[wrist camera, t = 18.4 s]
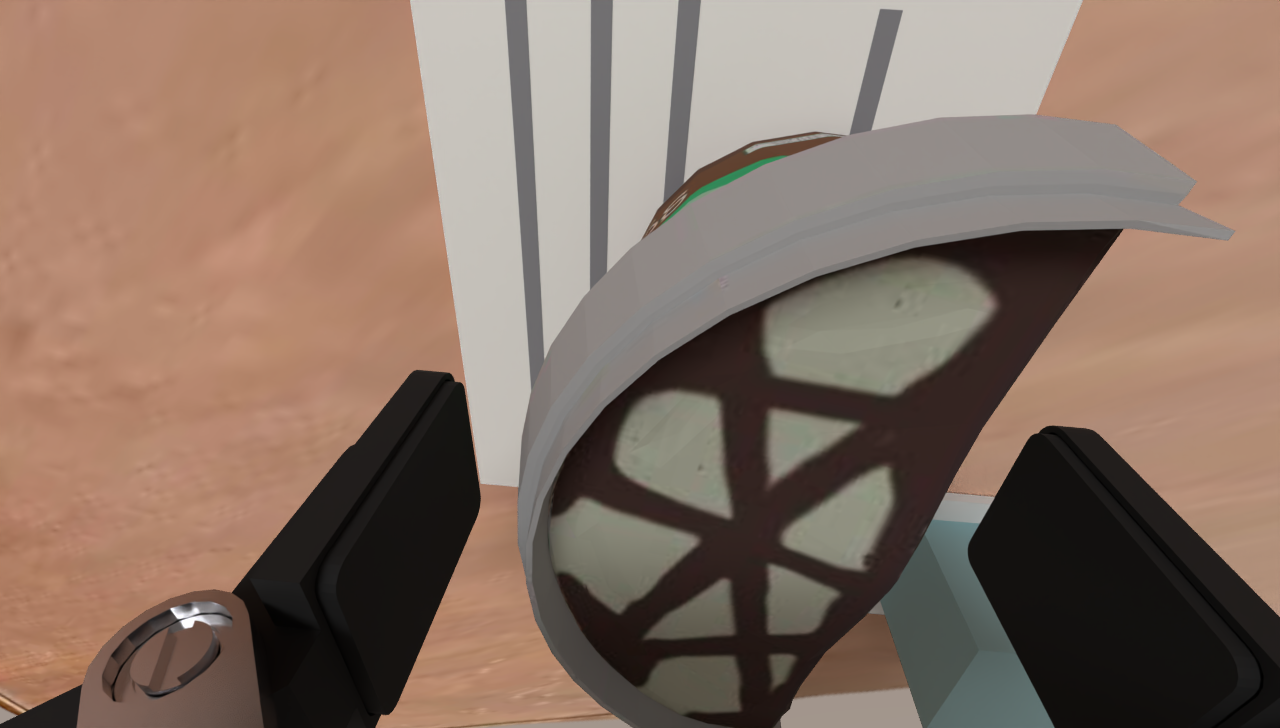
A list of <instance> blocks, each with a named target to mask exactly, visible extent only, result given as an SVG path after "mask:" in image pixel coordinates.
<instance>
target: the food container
mask: <svg viewBox="0 0 1280 728" xmlns="http://www.w3.org/2000/svg"><path fill="white" fill-rule="evenodd" d="M1196 182H1197V181H1195V180H1194V179H1193V178H1191V177H1190V176H1188V175H1187V174H1185V173H1184V172H1183V171H1181V170H1180V169H1178V168H1177V167H1176V166H1174V165H1173V164H1171V163H1170V162H1168V161H1167V160H1166V159H1164V158H1163V157H1161V156H1160V155H1158V154H1157V153H1156V152H1154V151H1153V150H1151V149H1150V148H1148V147H1147V146H1146V145H1144V144H1143V143H1141V142H1140V141H1138V140H1137V139H1136V138H1134V137H1133V136H1131V135H1130V134H1128V133H1127V132H1126V131H1124V130H1123V129H1121V128H1120V127H1118V126H1117V125H1114V124H1106V123H1098V122H1090V121H1082V120H1074V119H1066V118H1058V117H1050V116H1042V115H1034V114H1025V115H997V116H969V117H941V118H935V119H929V120H924V121H919V122H914V123H909V124H903V125H898V126H893V127H888V128H883V129H877V130H872V131H867V132H862V133H857V134H851V135H839V134H831V133H823V132H809V133H803V134H797V135H791V136H785V137H779V138H773V139H767V140H761V141H754V142H751V143H749V144H747V145H745V146H743V147H741V148H739V149H737V150H735V151H733V152H731V153H730V154H728V155H726V156H724V157H722V158H720V159H718V160H716V161H714V162H712V163H710V164H708V165H706V166H704V167H702V168H700V169H698V170H697V171H696V172H695V173H694V174H693V175H692V176H691V177H690V178H689V179H688V180H687V181H686V182H685V183H684V184H683V185H682V186H681V187H680V188H679V189H678V190H677V191H676V192H675V193H674V194H673V195H672V196H670V197H669V198H668V199H667V200H666V201H665V202H664V203H663V204H662V205H661V206H660V207H659V208H658V209H657V211H656V213H655V215H654V217H653V219H652V221H651V222H650V224H649V226H648V228H647V230H646V232H645V234H644V235H643V237H642V239H641V241H640V242H638V243H637V244H636V245H634V246H633V247H632V248H630V249H629V250H628V251H627V252H626V253H625V254H624V256H623V257H622V258H621V259H620V260H619V261H618V262H617V263H616V264H615V265H614V266H613V267H612V268H611V269H610V270H609V271H608V272H607V273H606V274H605V275H604V276H603V277H602V278H601V279H600V280H599V281H598V282H597V283H596V284H595V285H594V286H593V287H592V289H591V290H590V291H589V292H588V293H587V294H586V295H585V296H584V297H583V298H582V300H581V301H580V303H579V304H578V306H577V307H576V309H575V310H574V312H573V313H572V315H571V316H570V318H569V319H568V321H567V322H566V324H565V325H564V327H563V328H562V330H561V331H560V332H559V334H558V335H557V337H556V338H555V340H554V341H553V343H552V344H551V346H550V349H549V351H548V353H547V356H546V358H545V360H544V363H543V365H542V367H541V370H540V372H539V374H538V377H537V379H536V381H535V384H534V386H533V388H532V391H531V394H530V399H529V404H528V409H527V414H526V419H525V423H524V428H523V433H522V440H521V456H520V472H519V488H518V546H519V550H520V554H521V559H522V563H523V567H524V571H525V575H526V584H527V589H528V593H529V597H530V601H531V605H532V609H533V613H534V617H535V620H536V622H537V624H538V626H539V628H540V630H541V632H542V634H543V636H544V638H545V640H546V642H547V644H548V646H549V648H550V650H551V652H552V654H553V655H554V656H555V657H556V659H557V660H558V661H559V663H560V664H561V665H562V666H563V668H564V669H565V670H566V672H567V673H568V674H569V675H570V677H571V678H572V679H573V681H574V682H575V683H577V684H578V685H579V686H580V687H581V688H582V689H583V690H584V691H585V692H586V693H587V694H589V695H590V696H591V697H592V698H593V699H594V700H595V701H596V702H597V703H598V704H600V705H601V706H602V707H603V708H605V709H606V710H608V711H609V712H611V713H612V714H614V715H615V716H616V717H618V718H619V719H621V720H622V721H624V722H625V723H627V724H628V725H630V726H631V727H633V728H781V722H780V719H781V717H782V716H783V715H784V714H785V713H786V712H787V711H788V710H789V709H790V706H791V703H792V700H793V698H794V696H795V695H796V693H797V691H798V689H799V688H800V686H801V684H802V683H803V681H804V680H805V679H806V677H807V676H808V675H809V673H810V672H811V671H812V669H813V668H814V667H815V665H816V664H817V663H818V661H819V660H820V659H821V657H822V656H823V655H824V653H825V652H826V651H827V650H828V649H829V648H831V647H832V646H833V645H834V644H835V643H836V642H837V641H838V640H839V639H840V638H842V637H843V636H844V635H845V634H846V633H847V632H848V631H849V630H850V629H851V628H853V627H854V626H855V625H856V624H857V623H858V622H859V621H860V620H861V619H862V618H864V617H865V616H866V615H867V614H868V613H869V612H870V611H871V610H872V609H873V608H874V606H875V605H876V604H877V603H878V602H879V601H880V600H881V599H882V598H883V597H884V596H885V595H886V594H887V593H888V592H889V591H890V590H891V589H892V587H893V586H894V585H895V584H896V582H897V581H898V579H899V578H900V576H901V574H902V572H903V570H904V569H905V567H906V565H907V564H908V562H909V560H910V559H911V557H912V555H913V554H914V552H915V550H916V549H917V547H918V545H919V544H920V542H921V540H922V538H923V537H924V535H925V533H926V531H927V529H928V527H929V525H930V523H931V521H932V519H933V517H934V515H935V513H936V512H937V510H938V508H939V506H940V504H941V502H942V500H943V498H944V496H945V494H946V492H947V490H948V488H949V486H950V485H951V483H952V481H953V479H954V477H955V475H956V473H957V471H958V470H959V468H960V466H961V464H962V463H963V461H964V459H965V458H966V456H967V454H968V452H969V451H970V449H971V447H972V445H973V444H974V442H975V440H976V438H977V437H978V435H979V433H980V432H981V430H982V428H983V427H984V425H985V424H986V422H987V421H988V420H989V418H990V417H991V415H992V414H993V412H994V411H995V409H996V408H997V407H998V405H999V404H1000V402H1001V401H1002V399H1003V398H1004V397H1005V395H1006V394H1007V392H1008V391H1009V389H1010V388H1011V386H1012V385H1013V384H1014V382H1015V381H1016V379H1017V378H1018V376H1019V375H1020V374H1021V372H1022V371H1023V369H1024V368H1025V366H1026V365H1027V363H1028V362H1029V361H1030V359H1031V358H1032V356H1033V355H1034V353H1035V352H1036V351H1037V349H1038V348H1039V346H1040V345H1041V343H1042V342H1043V340H1044V339H1045V338H1046V336H1047V335H1048V333H1049V332H1050V330H1051V329H1052V328H1053V326H1054V325H1055V323H1056V322H1057V320H1058V319H1059V318H1060V316H1061V315H1062V314H1063V312H1064V311H1065V309H1066V308H1067V307H1068V305H1069V304H1070V302H1071V301H1072V300H1073V298H1074V297H1075V296H1076V294H1077V293H1078V291H1079V290H1080V289H1081V287H1082V286H1083V284H1084V283H1085V282H1086V280H1087V279H1088V278H1089V276H1090V275H1091V273H1092V272H1093V271H1094V269H1095V268H1096V266H1097V265H1098V264H1099V262H1100V261H1101V260H1102V258H1103V257H1104V255H1105V254H1106V253H1107V251H1108V250H1109V248H1110V247H1111V246H1112V244H1113V243H1114V242H1115V240H1116V239H1117V237H1118V236H1119V235H1120V233H1121V232H1122V230H1123V229H1138V230H1146V231H1154V232H1163V233H1171V234H1179V235H1187V236H1195V237H1203V238H1212V239H1220V240H1229V239H1230V237H1231V236H1232V235H1233V233H1234V232H1235V231H1234V230H1232V229H1230V228H1228V227H1225V226H1223V225H1221V224H1219V223H1217V222H1214V221H1212V220H1210V219H1208V218H1205V217H1203V216H1201V215H1199V214H1197V213H1194V212H1192V211H1190V210H1188V209H1186V208H1183V207H1181V206H1179V205H1178V204H1179V203H1180V202H1181V201H1182V200H1183V199H1184V198H1185V197H1186V196H1187V195H1188V193H1189V192H1190V190H1191V189H1192V188H1193V186H1194V185H1195V183H1196Z"/></svg>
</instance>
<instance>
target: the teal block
mask: <svg viewBox="0 0 1280 728" xmlns="http://www.w3.org/2000/svg"><path fill="white" fill-rule="evenodd" d="M979 524H980V523H968V522H955V521H943V520H932V521H931V523H930V525H929V527H928V529H927V531H926V533H925V535H924V537H923V538H922V540H921V542H920V544H919V545H918V547H917V549H916V550H915V552H914V554H913V555H912V557H911V559H910V560H909V562H908V564H907V565H906V567H905V569H904V570H903V572H902V574H901V576H900V578H899V579H898V581H897V582H896V584H895V585H894V586H893V587H892V589H891V590H890V591H889V592H888V593H887V594H886V595H885V596H884V597H883V598H882V599H881V600H880V602H881V605H882V608H883V611H884V614H885V617H886V620H887V623H888V626H889V629H890V632H891V635H892V638H893V641H894V643H895V646H896V649H897V652H898V655H899V658H900V661H901V664H902V667H903V670H904V673H905V676H906V679H907V682H908V685H909V688H910V691H911V694H912V697H913V700H914V703H915V706H916V709H917V712H918V714H919V718H920V721H921V724H922V726H923V728H1055V727H1054V726H1053V724H1052V722H1051V720H1050V718H1049V716H1048V714H1047V712H1046V710H1045V708H1044V706H1043V704H1042V702H1041V700H1040V698H1039V697H1038V695H1037V693H1036V691H1035V689H1034V687H1033V685H1032V683H1031V681H1030V679H1029V677H1028V675H1027V673H1026V671H1025V669H1024V668H1023V666H1022V664H1021V662H1020V660H1019V658H1018V656H1017V654H1016V652H1015V650H1014V648H1013V646H1012V644H1011V642H1010V640H1009V638H1008V637H1007V635H1006V633H1005V631H1004V629H1003V627H1002V625H1001V623H1000V621H999V619H998V617H997V615H996V613H995V611H994V609H993V608H992V606H991V604H990V602H989V600H988V598H987V596H986V594H985V592H984V590H983V588H982V586H981V584H980V582H979V580H978V579H977V577H976V575H975V573H974V571H973V569H972V567H971V565H970V562H969V559H968V544H969V542H970V540H971V538H972V536H973V534H974V533H975V531H976V529H977V528H978V526H979Z"/></svg>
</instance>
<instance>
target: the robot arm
mask: <svg viewBox="0 0 1280 728" xmlns="http://www.w3.org/2000/svg"><path fill="white" fill-rule="evenodd" d="M480 501H481V496H480V488H479V481H478V475H477V468H476V462H475V455H474V448H473V442H472V435H471V428H470V422H469V415H468V408H467V402H466V395H465V389H464V386H463V384H462V383H460V382H455V381H454V378H453V376H452V374H450V373H446V372H434V371H423V370H416V371H413V372H412V373H411V374H410V375H409V376H408V378H407V379H406V380H405V382H404V383H403V384H402V385H401V387H400V388H399V389H398V390H397V392H396V393H395V394H394V395H393V397H392V398H391V399H390V401H389V402H388V403H387V404H386V406H385V407H384V408H383V409H382V411H381V412H380V413H379V414H378V416H377V417H376V418H375V420H374V421H373V422H372V423H371V425H370V426H369V427H368V428H367V430H366V431H365V432H364V433H363V435H362V436H361V437H360V439H359V440H358V441H357V442H356V444H355V445H352V446H350V447H349V448H348V449H347V450H346V451H345V452H344V453H343V454H342V455H341V457H340V458H339V459H338V460H337V462H336V463H335V464H334V465H333V467H332V468H331V469H330V470H329V472H328V473H327V474H326V475H325V477H324V478H323V479H322V480H321V482H320V483H319V484H318V485H317V487H316V488H315V489H314V490H313V492H312V493H311V494H310V495H309V497H308V498H307V499H306V500H305V502H304V503H303V504H302V505H301V507H300V508H299V509H298V510H297V512H296V513H295V514H294V515H293V517H292V518H291V519H290V520H289V522H288V523H287V524H286V525H285V527H284V528H283V529H282V530H281V532H280V533H279V534H278V535H277V537H276V538H275V539H274V540H273V542H272V543H271V544H270V545H269V547H268V548H267V549H266V550H265V552H264V553H263V554H262V555H261V557H260V558H259V559H258V560H257V562H256V563H255V564H254V565H253V567H252V568H251V569H250V570H249V572H248V573H247V574H246V575H245V577H244V578H243V579H242V580H241V582H240V583H239V584H238V585H237V587H236V588H235V589H234V590H233V592H232V593H230V592H225V591H220V590H215V589H214V590H204V591H194V592H190V593H187V594H184V595H180V596H177V597H174V598H171V599H168V600H166V601H164V602H162V603H160V604H158V605H156V606H154V607H152V608H150V609H148V610H146V611H145V612H143V613H142V614H140V615H139V616H138V617H136V618H135V619H133V620H132V621H130V622H129V623H128V624H126V625H125V626H123V627H122V628H121V629H120V630H119V631H118V632H117V633H116V634H115V635H114V636H113V637H112V638H111V639H110V640H109V641H108V642H107V643H106V644H105V645H104V646H103V647H102V648H101V650H100V651H99V652H98V654H97V655H96V657H95V658H94V660H93V661H92V663H91V664H90V665H89V667H88V670H87V673H86V676H85V679H84V682H83V684H82V685H80V686H78V687H76V688H73V689H71V690H69V691H67V692H65V693H63V694H61V695H59V696H57V697H55V698H53V699H51V700H49V701H47V702H45V703H43V704H41V705H39V706H37V707H34V708H32V709H30V710H28V711H26V712H24V713H22V714H20V715H18V716H16V717H14V718H12V719H10V720H8V721H6V722H4V723H2V724H0V728H375V727H376V725H377V722H378V720H379V718H380V716H381V714H382V715H389V714H390V713H391V712H392V711H393V710H394V708H395V707H396V705H397V703H398V701H399V698H400V696H401V694H402V691H403V689H404V687H405V684H406V682H407V680H408V677H409V675H410V673H411V670H412V668H413V666H414V663H415V661H416V659H417V656H418V654H419V652H420V649H421V647H422V645H423V642H424V640H425V638H426V635H427V633H428V631H429V628H430V626H431V624H432V621H433V619H434V617H435V614H436V612H437V610H438V607H439V605H440V603H441V600H442V598H443V596H444V593H445V591H446V589H447V586H448V584H449V582H450V579H451V577H452V574H453V572H454V570H455V567H456V565H457V563H458V560H459V558H460V556H461V553H462V551H463V549H464V546H465V544H466V542H467V539H468V537H469V535H470V532H471V530H472V528H473V525H474V523H475V521H476V518H477V516H478V513H479V509H480ZM968 559H969V562H970V565H971V567H972V569H973V571H974V573H975V575H976V577H977V579H978V580H979V582H980V584H981V586H982V588H983V590H984V592H985V594H986V596H987V598H988V600H989V602H990V604H991V606H992V608H993V609H994V611H995V613H996V615H997V617H998V619H999V621H1000V623H1001V625H1002V627H1003V629H1004V631H1005V633H1006V635H1007V637H1008V638H1009V640H1010V642H1011V644H1012V646H1013V648H1014V650H1015V652H1016V654H1017V656H1018V658H1019V660H1020V662H1021V664H1022V666H1023V668H1024V669H1025V671H1026V673H1027V675H1028V677H1029V679H1030V681H1031V683H1032V685H1033V687H1034V689H1035V691H1036V693H1037V695H1038V697H1039V698H1040V700H1041V702H1042V704H1043V706H1044V708H1045V710H1046V712H1047V714H1048V716H1049V718H1050V720H1051V722H1052V724H1053V726H1054V727H1055V728H1280V617H1279V616H1278V615H1277V614H1276V613H1275V612H1274V611H1273V610H1272V609H1271V608H1270V607H1269V606H1268V605H1267V604H1266V603H1265V602H1264V601H1263V600H1262V599H1261V598H1260V597H1259V596H1258V595H1257V594H1256V593H1255V592H1254V591H1253V590H1252V589H1251V588H1250V587H1249V586H1248V585H1247V583H1246V582H1245V581H1244V580H1243V579H1242V578H1241V577H1240V576H1239V575H1238V574H1237V573H1236V572H1235V571H1234V570H1233V569H1232V568H1231V567H1230V566H1229V565H1228V564H1227V563H1226V562H1225V561H1224V560H1223V559H1222V558H1221V557H1220V556H1219V555H1218V554H1217V553H1216V552H1215V551H1214V550H1213V549H1212V548H1211V547H1210V546H1209V545H1208V544H1207V543H1206V542H1205V541H1204V540H1203V539H1202V538H1201V537H1200V536H1199V535H1198V534H1197V533H1196V532H1195V531H1194V530H1193V529H1192V528H1191V527H1190V526H1189V525H1188V524H1187V523H1186V522H1185V521H1184V520H1183V519H1182V518H1181V517H1180V516H1179V515H1178V514H1177V513H1176V512H1175V511H1174V510H1173V509H1172V508H1171V507H1170V506H1169V505H1168V504H1167V503H1166V502H1165V501H1164V500H1163V499H1162V498H1161V497H1160V496H1159V495H1158V494H1157V493H1156V492H1155V491H1154V490H1153V489H1152V488H1151V487H1150V486H1149V485H1148V484H1147V483H1146V482H1145V481H1144V480H1143V479H1142V478H1141V476H1140V475H1139V474H1138V473H1137V472H1136V471H1135V470H1134V469H1133V468H1132V467H1131V466H1130V465H1129V464H1128V463H1127V462H1126V461H1125V460H1124V459H1123V458H1122V457H1121V456H1120V455H1119V454H1118V453H1117V452H1116V451H1115V450H1114V449H1113V448H1112V447H1111V446H1110V445H1109V444H1108V443H1107V442H1106V441H1105V440H1104V439H1103V438H1102V437H1101V436H1100V435H1099V434H1097V433H1096V432H1095V431H1093V430H1090V429H1086V428H1074V427H1063V426H1047V427H1045V428H1043V429H1042V430H1041V431H1040V432H1039V433H1038V434H1034V435H1032V436H1031V437H1030V438H1029V439H1028V441H1027V442H1026V444H1025V446H1024V448H1023V449H1022V451H1021V453H1020V454H1019V456H1018V458H1017V460H1016V461H1015V463H1014V465H1013V467H1012V468H1011V470H1010V472H1009V474H1008V475H1007V477H1006V479H1005V481H1004V482H1003V484H1002V486H1001V488H1000V489H999V491H998V493H997V494H996V496H995V498H994V500H993V501H992V503H991V505H990V507H989V508H988V510H987V512H986V514H985V515H984V517H983V519H982V521H981V522H980V524H979V526H978V528H977V529H976V531H975V533H974V534H973V536H972V538H971V540H970V542H969V544H968Z"/></svg>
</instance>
